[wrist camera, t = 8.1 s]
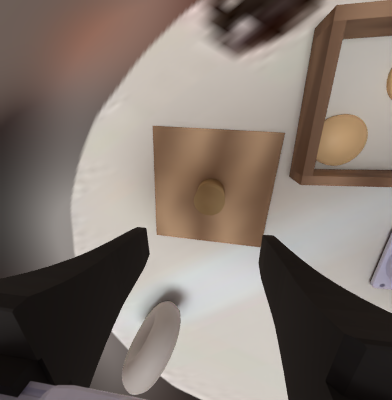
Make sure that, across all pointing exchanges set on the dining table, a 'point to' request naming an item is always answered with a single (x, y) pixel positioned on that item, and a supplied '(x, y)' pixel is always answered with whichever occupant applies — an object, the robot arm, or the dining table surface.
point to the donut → (151, 348)
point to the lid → (214, 183)
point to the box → (322, 85)
